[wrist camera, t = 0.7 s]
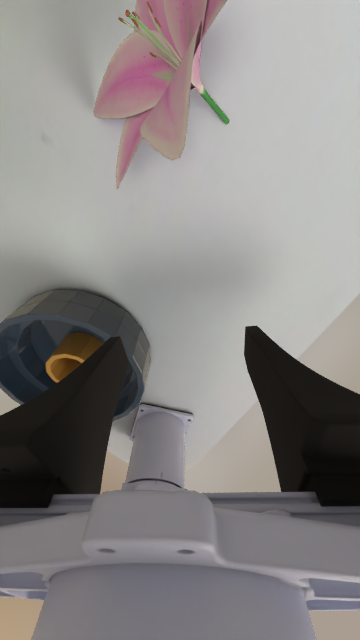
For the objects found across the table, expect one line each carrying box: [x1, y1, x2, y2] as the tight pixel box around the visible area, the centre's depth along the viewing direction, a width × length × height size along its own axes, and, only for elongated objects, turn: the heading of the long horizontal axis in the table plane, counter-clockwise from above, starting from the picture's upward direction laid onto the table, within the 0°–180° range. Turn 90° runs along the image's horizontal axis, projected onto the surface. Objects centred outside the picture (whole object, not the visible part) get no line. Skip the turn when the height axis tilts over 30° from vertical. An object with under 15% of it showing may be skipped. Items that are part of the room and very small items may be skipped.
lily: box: [94, 0, 229, 189], centre depth 11 cm, size 12×12×10 cm
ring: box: [46, 332, 103, 383], centre depth 24 cm, size 5×5×4 cm
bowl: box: [0, 290, 150, 422], centre depth 24 cm, size 15×15×5 cm
